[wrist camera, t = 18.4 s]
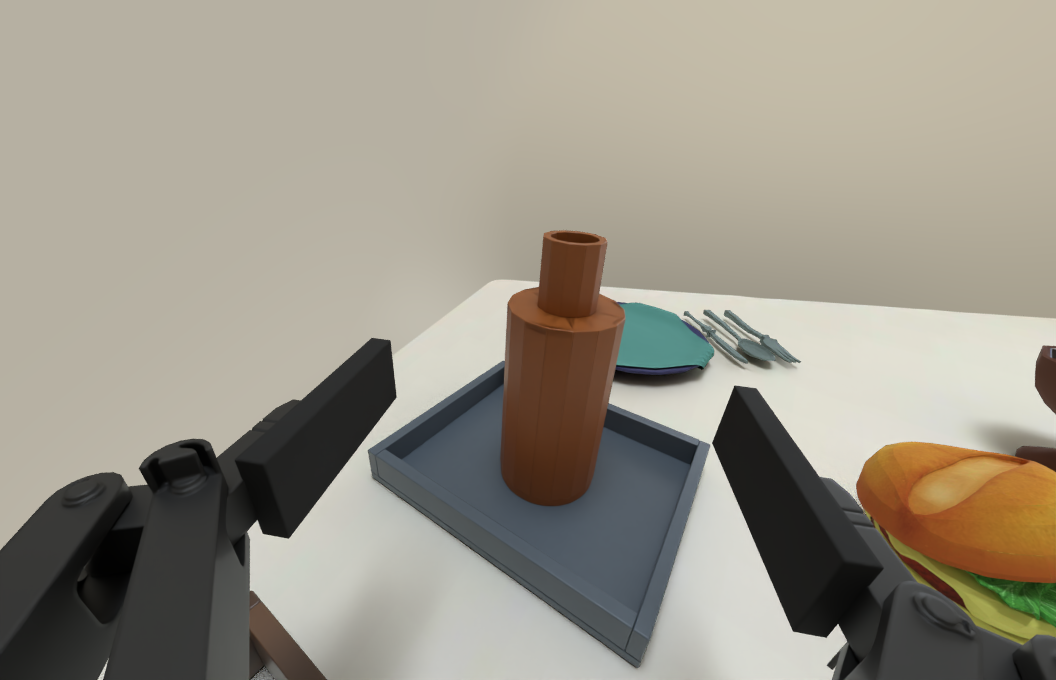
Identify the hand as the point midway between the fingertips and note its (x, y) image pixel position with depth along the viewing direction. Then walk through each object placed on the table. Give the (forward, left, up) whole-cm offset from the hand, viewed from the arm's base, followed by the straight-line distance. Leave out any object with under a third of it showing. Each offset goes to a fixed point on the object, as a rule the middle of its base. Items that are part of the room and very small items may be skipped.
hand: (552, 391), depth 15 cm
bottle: (-3, +8, -13) cm, 15 cm away
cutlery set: (-3, +36, -14) cm, 38 cm away
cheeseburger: (+20, +15, -14) cm, 29 cm away
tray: (-4, +8, -13) cm, 16 cm away
